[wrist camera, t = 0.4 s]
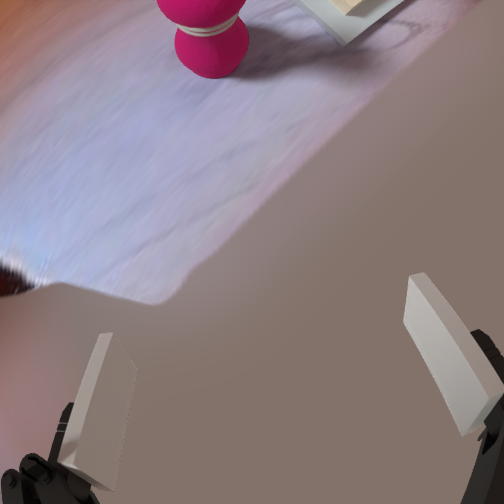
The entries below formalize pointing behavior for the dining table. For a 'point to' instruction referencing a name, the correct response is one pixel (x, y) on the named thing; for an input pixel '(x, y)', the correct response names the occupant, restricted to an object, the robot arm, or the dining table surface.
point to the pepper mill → (208, 34)
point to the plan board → (346, 15)
